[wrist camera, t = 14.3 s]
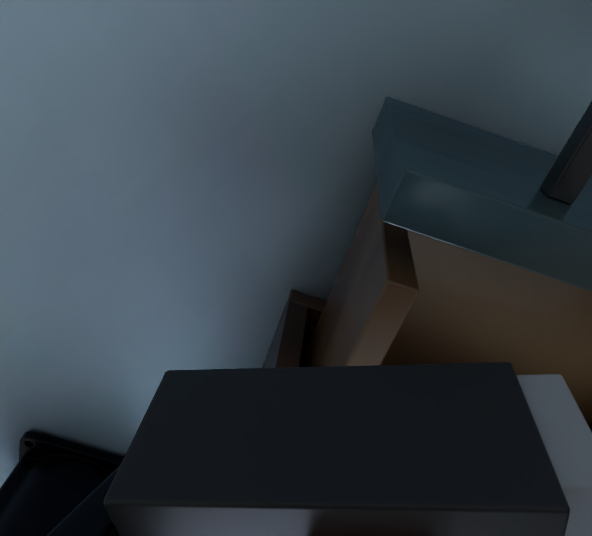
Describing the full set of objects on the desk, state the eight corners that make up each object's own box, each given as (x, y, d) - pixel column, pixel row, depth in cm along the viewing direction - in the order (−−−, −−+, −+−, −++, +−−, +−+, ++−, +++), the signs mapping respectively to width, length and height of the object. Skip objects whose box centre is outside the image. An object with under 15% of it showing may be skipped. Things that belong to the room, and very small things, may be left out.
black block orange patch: (195, 462, 11) (139, 630, 8) (165, 368, 9) (86, 529, 7) (543, 464, 10) (618, 657, 7) (561, 358, 8) (662, 544, 6)
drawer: (460, -94, 13) (547, -156, 7) (918, 80, 14) (1342, 156, 8) (261, 413, 23) (227, 565, 17) (535, 497, 23) (595, 670, 18)
